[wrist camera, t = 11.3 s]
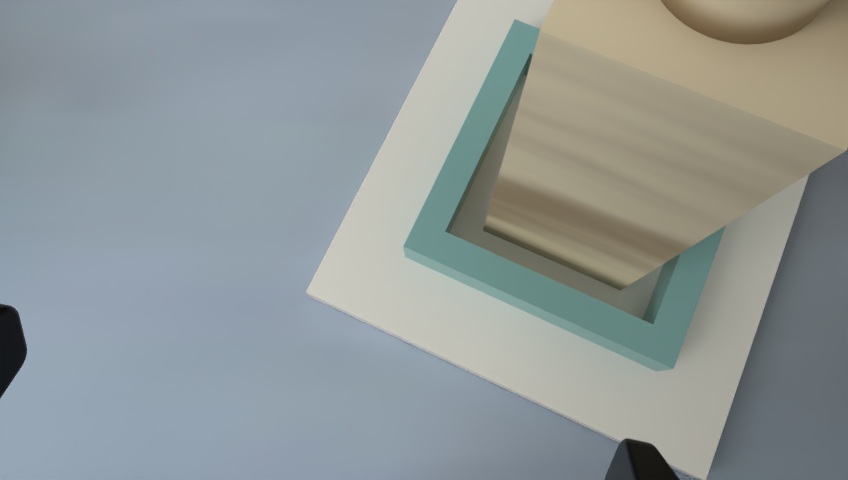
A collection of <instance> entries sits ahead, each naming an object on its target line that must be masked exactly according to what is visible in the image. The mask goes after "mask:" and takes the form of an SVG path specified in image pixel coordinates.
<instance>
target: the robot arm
mask: <svg viewBox="0 0 848 480" xmlns="http://www.w3.org/2000/svg"><path fill="white" fill-rule="evenodd" d="M26 354H27V346H26V342H25V338H24V333H23V329H22V325H21V321H20V317H19V314H18V312H17V310H16V309H15V308H14V307H12V306H9V305H4V304H0V398H1V397H2V395H3V394H4V392H5V391H6V389H7V388H8V386H9V385H10V383H11V382H12V380H13V379H14V377H15V376H16V374H17V373H18V371H19V370H20V368H21V367H22V365H23V363H24V361H25V358H26ZM605 480H680V479H679V478H678V477H677V475H676V474H675V473H674V471H673V470H672V468H671V467H670V466H669V464H668V463H667V462H666V460H665V459H664V457H663V456H662V455H661V453H660V452H659V451H658V449H657V448H656V447H655V446H654V445H653V444H651V443H648V442H644V441H639V440H634V439H630V438H626V439H623V440H622V441H621V442H620V444H619V446H618V448H617V450H616V453H615V455H614V457H613V460H612V462H611V465H610V467H609V469H608V472H607V474H606V477H605Z"/></svg>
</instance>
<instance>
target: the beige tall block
mask: <svg viewBox="0 0 848 480" xmlns="http://www.w3.org/2000/svg"><path fill="white" fill-rule="evenodd" d="M847 147H848V0H554V2H553V4H552V6H551V8H550V10H549V12H548V14H547V16H546V19H545V21H544V23H543V25H542V27H541V29H540V32H539V35H538V39H537V42H536V46H535V49H534V53H533V56H532V60H531V63H530V67H529V70H528V74H527V77H526V81H525V84H524V88H523V91H522V95H521V98H520V102H519V105H518V109H517V112H516V116H515V119H514V123H513V126H512V130H511V133H510V137H509V140H508V144H507V147H506V151H505V154H504V158H503V161H502V165H501V168H500V172H499V175H498V179H497V182H496V186H495V189H494V193H493V196H492V200H491V203H490V207H489V210H488V214H487V217H486V221H485V224H484V228H483V231H485V232H488V233H490V234H492V235H495V236H497V237H499V238H501V239H504V240H506V241H508V242H511V243H513V244H515V245H517V246H520V247H522V248H524V249H527V250H529V251H531V252H534V253H536V254H538V255H540V256H543V257H545V258H547V259H550V260H552V261H554V262H556V263H559V264H561V265H563V266H566V267H568V268H570V269H572V270H575V271H577V272H579V273H582V274H584V275H586V276H589V277H591V278H593V279H595V280H598V281H600V282H602V283H605V284H607V285H609V286H611V287H614V288H616V289H618V290H622V289H624V288H625V287H627V286H629V285H630V284H632V283H633V282H635V281H637V280H638V279H640V278H641V277H643V276H645V275H646V274H648V273H650V272H651V271H653V270H654V269H656V268H658V267H659V266H661V265H662V264H664V263H666V262H667V261H669V260H671V259H672V258H674V257H675V256H677V255H679V254H680V253H682V252H683V251H685V250H687V249H688V248H690V247H692V246H693V245H695V244H696V243H698V242H700V241H701V240H703V239H704V238H706V237H708V236H709V235H711V234H713V233H714V232H716V231H717V230H719V229H721V228H722V227H724V226H725V225H727V224H729V223H730V222H732V221H734V220H735V219H737V218H738V217H740V216H742V215H743V214H745V213H747V212H748V211H750V210H751V209H753V208H755V207H756V206H758V205H759V204H761V203H763V202H764V201H766V200H768V199H769V198H771V197H772V196H774V195H776V194H777V193H779V192H780V191H782V190H784V189H785V188H787V187H789V186H790V185H792V184H793V183H795V182H797V181H798V180H800V179H801V178H803V177H805V176H806V175H808V174H810V173H811V172H813V171H814V170H816V169H818V168H819V167H821V166H822V165H824V164H826V163H827V162H829V161H831V160H832V159H834V158H835V157H837V156H839V155H840V154H842V153H843V152H845V151H846V150H847Z"/></svg>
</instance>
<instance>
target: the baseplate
mask: <svg viewBox="0 0 848 480" xmlns="http://www.w3.org/2000/svg"><path fill="white" fill-rule="evenodd" d="M553 2H554V0H458V1H457V2H456V4H455V6H454V8H453V10H452V12H451V14H450V16H449V18H448V20H447V22H446V24H445V26H444V27H443V29H442V31H441V33H440V35H439V37H438V39H437V41H436V43H435V45H434V47H433V49H432V51H431V52H430V54H429V56H428V58H427V60H426V62H425V64H424V66H423V68H422V70H421V72H420V74H419V76H418V77H417V79H416V81H415V83H414V85H413V87H412V89H411V91H410V93H409V95H408V97H407V99H406V101H405V102H404V104H403V106H402V108H401V110H400V112H399V114H398V116H397V118H396V120H395V122H394V124H393V126H392V127H391V129H390V131H389V133H388V135H387V137H386V139H385V141H384V143H383V145H382V147H381V149H380V151H379V152H378V154H377V156H376V158H375V160H374V162H373V164H372V166H371V168H370V170H369V172H368V174H367V176H366V177H365V179H364V181H363V183H362V185H361V187H360V189H359V191H358V193H357V195H356V197H355V199H354V201H353V202H352V204H351V206H350V208H349V210H348V212H347V214H346V216H345V218H344V220H343V222H342V224H341V226H340V227H339V229H338V231H337V233H336V235H335V237H334V239H333V241H332V243H331V245H330V247H329V249H328V251H327V252H326V254H325V256H324V258H323V260H322V262H321V264H320V266H319V268H318V270H317V272H316V274H315V276H314V277H313V279H312V281H311V283H310V285H309V287H308V289H307V291H306V293H307V294H308V295H309V296H310V297H312V298H314V299H316V300H318V301H320V302H322V303H324V304H327V305H329V306H331V307H333V308H335V309H337V310H339V311H341V312H344V313H346V314H348V315H350V316H352V317H354V318H356V319H358V320H360V321H363V322H365V323H367V324H369V325H371V326H373V327H375V328H377V329H379V330H382V331H384V332H386V333H388V334H390V335H392V336H394V337H396V338H399V339H401V340H403V341H405V342H407V343H409V344H411V345H413V346H415V347H418V348H420V349H422V350H424V351H426V352H428V353H430V354H432V355H434V356H437V357H439V358H441V359H443V360H445V361H447V362H449V363H451V364H454V365H456V366H458V367H460V368H462V369H464V370H466V371H468V372H470V373H473V374H475V375H477V376H479V377H481V378H483V379H485V380H487V381H489V382H492V383H494V384H496V385H498V386H500V387H502V388H504V389H506V390H508V391H511V392H513V393H515V394H517V395H519V396H521V397H523V398H525V399H528V400H530V401H532V402H534V403H536V404H538V405H540V406H542V407H544V408H547V409H549V410H551V411H553V412H555V413H557V414H559V415H561V416H563V417H566V418H568V419H570V420H572V421H574V422H576V423H578V424H580V425H583V426H585V427H587V428H589V429H591V430H593V431H595V432H597V433H599V434H602V435H604V436H606V437H608V438H610V439H612V440H614V441H616V442H618V443H620V442H621V441H622V440H623V439H626V438H630V439H634V440H639V441H644V442H648V443H651V444H653V445H654V446H655V447H656V448H657V449H658V451H659V452H660V453H661V455H662V456H663V457H664V459H665V460H666V462H667V463H668V464H669V466H670V467H671V468H673V469H676V470H678V471H680V472H682V473H684V474H686V475H688V476H690V477H692V478H696V479H700V480H706V478H707V476H708V473H709V470H710V467H711V464H712V461H713V458H714V455H715V452H716V449H717V446H718V443H719V440H720V437H721V434H722V431H723V428H724V425H725V422H726V419H727V416H728V413H729V410H730V408H731V405H732V402H733V399H734V396H735V393H736V390H737V387H738V384H739V381H740V378H741V375H742V372H743V369H744V366H745V363H746V360H747V357H748V354H749V351H750V348H751V345H752V343H753V340H754V337H755V334H756V331H757V328H758V325H759V322H760V319H761V316H762V313H763V310H764V307H765V304H766V301H767V298H768V295H769V292H770V289H771V286H772V283H773V280H774V277H775V275H776V272H777V269H778V266H779V263H780V260H781V257H782V254H783V251H784V248H785V245H786V242H787V239H788V236H789V233H790V230H791V227H792V224H793V221H794V218H795V215H796V212H797V210H798V207H799V204H800V201H801V198H802V195H803V192H804V189H805V186H806V183H807V180H808V177H809V174H808V175H806V176H805V177H803V178H801V179H800V180H798V181H797V182H795V183H793V184H792V185H790V186H789V187H787V188H785V189H784V190H782V191H780V192H779V193H777V194H776V195H774V196H772V197H771V198H769V199H768V200H766V201H764V202H763V203H761V204H759V205H758V206H756V207H755V208H753V209H751V210H750V211H748V212H747V213H745V214H743V215H742V216H740V217H738V218H737V219H735V220H734V221H732V222H730V223H729V224H727V225H725V226H724V227H722V228H721V229H719V230H717V231H716V232H714V233H713V234H711V235H709V236H708V237H706V238H704V239H703V240H701V241H700V242H698V243H696V244H695V245H693V246H692V247H690V248H688V249H687V250H685V251H683V252H682V253H680V254H679V255H677V256H675V257H674V258H672V259H671V260H669V261H667V262H666V263H664V264H662V265H661V266H659V267H658V268H656V269H654V270H653V271H651V272H650V273H648V274H646V275H645V276H643V277H641V278H640V279H638V280H637V281H635V282H633V283H632V284H630V285H629V286H627V287H625V288H624V289H622V290H618V289H616V288H614V287H611V286H609V285H607V284H605V283H602V282H600V281H598V280H595V279H593V278H591V277H589V276H586V275H584V274H582V273H579V272H577V271H575V270H572V269H570V268H568V267H566V266H563V265H561V264H559V263H556V262H554V261H552V260H550V259H547V258H545V257H543V256H540V255H538V254H536V253H534V252H531V251H529V250H527V249H524V248H522V247H520V246H517V245H515V244H513V243H511V242H508V241H506V240H504V239H501V238H499V237H497V236H495V235H492V234H490V233H488V232H485V231H483V228H484V224H485V221H486V217H487V214H488V210H489V207H490V203H491V200H492V196H493V193H494V189H495V186H496V182H497V179H498V175H499V172H500V168H501V165H502V161H503V158H504V154H505V151H506V147H507V144H508V140H509V137H510V133H511V130H512V126H513V123H514V119H515V116H516V112H517V109H518V105H519V102H520V98H521V95H522V91H523V88H524V84H525V81H526V77H527V74H528V70H529V67H530V63H531V60H532V56H533V53H534V49H535V46H536V42H537V39H538V35H539V32H540V29H541V27H542V25H543V23H544V21H545V19H546V16H547V14H548V12H549V10H550V8H551V6H552V4H553Z"/></svg>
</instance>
